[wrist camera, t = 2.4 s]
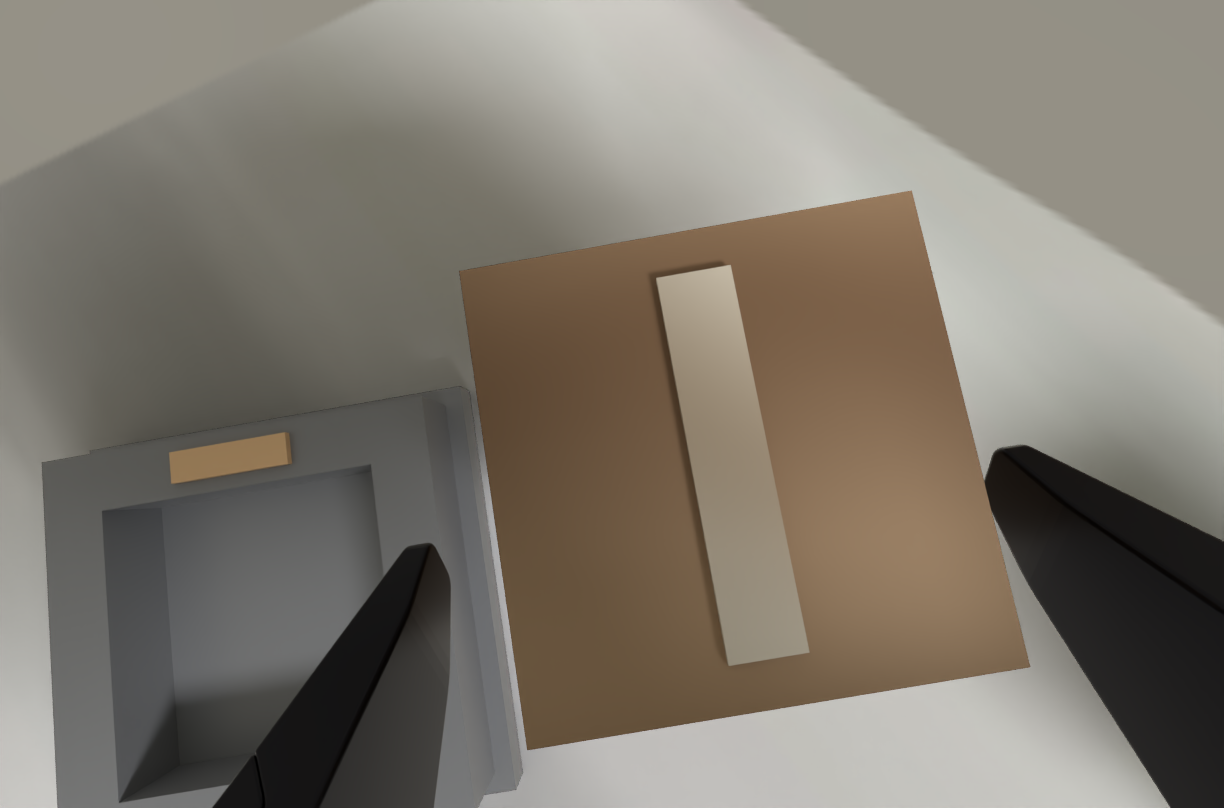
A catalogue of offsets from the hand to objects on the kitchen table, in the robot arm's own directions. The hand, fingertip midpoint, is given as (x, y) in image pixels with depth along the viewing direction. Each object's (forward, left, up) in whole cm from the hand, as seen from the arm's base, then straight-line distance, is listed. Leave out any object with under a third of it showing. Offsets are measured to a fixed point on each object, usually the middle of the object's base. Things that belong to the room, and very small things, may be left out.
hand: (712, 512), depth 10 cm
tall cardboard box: (+1, 0, -8) cm, 8 cm away
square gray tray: (-1, +11, -8) cm, 14 cm away
